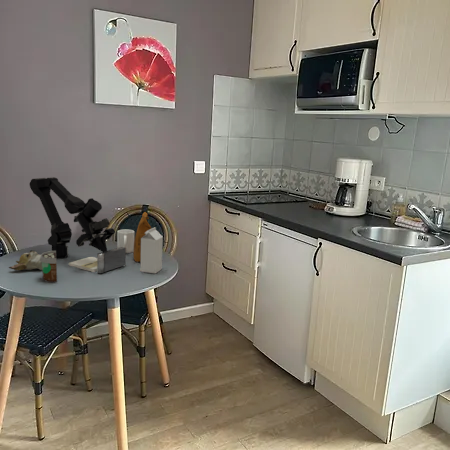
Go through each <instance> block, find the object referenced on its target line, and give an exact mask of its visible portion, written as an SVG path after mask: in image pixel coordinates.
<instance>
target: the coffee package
mask: <svg viewBox="0 0 450 450" xmlns="http://www.w3.org/2000/svg"><path fill="white" fill-rule="evenodd" d="M141 216H142V217H141V218H140V220H139V222H138V225H137V229H136V232H135V235H134V250H133V252H132V253H133V255H132V256H133V260H134V261H135V262H136V263H138V262H140V263H141V238H142V237H143V236H145V235H146V234H145V232H146V231H148V230H150V229H152V228H153V227H152V226H151V225H150V224H149V222H148V220H149V219H150V218H149V216H148V213H147V212H146V211H144V212H143V213H142V214H141Z"/></svg>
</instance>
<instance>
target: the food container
mask: <svg viewBox="0 0 450 450" xmlns="http://www.w3.org/2000/svg"><path fill="white" fill-rule="evenodd" d="M40 255H41V256H40V261H41V262H42V269H43V270H42V278H43V281H46V282H49V283H57V282H58V275H57V274H58V273H57V269H58V267H57V258H56V251H52V250H48V251H45V252H42V253H41V254H40Z"/></svg>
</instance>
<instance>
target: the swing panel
mask: <svg viewBox="0 0 450 450" xmlns="http://www.w3.org/2000/svg"><path fill="white" fill-rule="evenodd" d="M126 254H127V253H126V248H124V247H119V248H112V249H108V250H107V251H105V252H102V251H101V252H98V253H97V254H96V255H97V257H96V258H97V271H96V272H97V273H99V274H102V273H106V272H108V271H112V270H115V269H118V268H121V267H124V266H126Z"/></svg>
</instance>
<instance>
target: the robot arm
mask: <svg viewBox="0 0 450 450" xmlns="http://www.w3.org/2000/svg"><path fill="white" fill-rule="evenodd" d="M29 189H30V190H31V191H32V194H34V195H35V196H36V197H38V198H39V200H40V202H41V205H42V207H43V210H44V211H45V214H46V216H47V219H48V221H49V223H50V225H51V228H50V235H51V236H49V238H48V239H47V244H48V245H50V246H51V251H56V259H66V258H67V256H69V246H68V245H67V244H68V243H70V242H71V239H72V235H73V233H72V229H71V227H70V224H69V223H68V222H64V221H62V218H61V216H60V213H59V211H58V209H57V207H56V204H55V203H54V199H53V198H52V195H51V191H52V192H53V193H54V194H55V195H56V196H57V197H58V198H59V199H60V200H61V201H62V202H63V205H64V208H65V210H66V211H67V212H68V213H69V214H70V215H74V218H73V222H74V223H78V224H79V226H80V227H81V228H82V229H81V232H82V234H81V235H80V236H78V238H77V239H76V241H75V243H76V245H77V247H78V248H79V247H84V246H85V242H88V241H89V244H88V246H89V247H90V246H91V247H93V248H96V249H97V250H99V251H101V252H105V251H108V248H107V243H106V241H107V240H109V239H110V238H111V237H113V236H114V234H115V233H116V230H115V229H114V228H111V227H109V226H110V224H111V223H110V221H109V219H108V218H106V217H105V218H103V219H101V220H99V221H94V218H96V216H97V215H98V214H99V213H100V212H101V210H103V209H102V208H103V206H102V204H101V202H99V201H97V200H95V199H94V198H88V199H87V201H86V202H85V201H84V200H83V199H81V198H79V197H78V196H76V195H73V193H71V192H70V191H69V190H68V188H66V187H65V186H64V185H63V184H62V183H61V181H59V179H58V178H57V177H54V176H51V177H47V178H46V177H38V178H32V179H31V180H30V182H29ZM75 214H77V215H75ZM104 229H105V230H104Z"/></svg>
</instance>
